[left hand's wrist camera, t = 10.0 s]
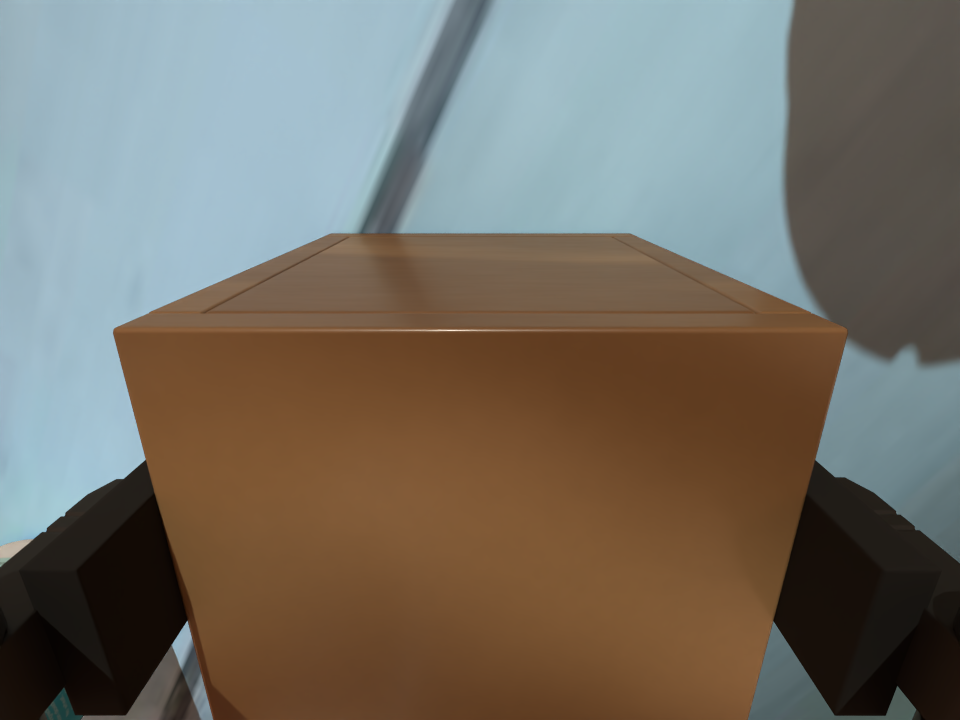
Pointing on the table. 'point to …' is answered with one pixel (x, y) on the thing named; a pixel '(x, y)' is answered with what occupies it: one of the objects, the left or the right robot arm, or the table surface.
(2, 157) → the table surface
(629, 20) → the table surface
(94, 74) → the table surface
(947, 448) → the table surface
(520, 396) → the cabinet
